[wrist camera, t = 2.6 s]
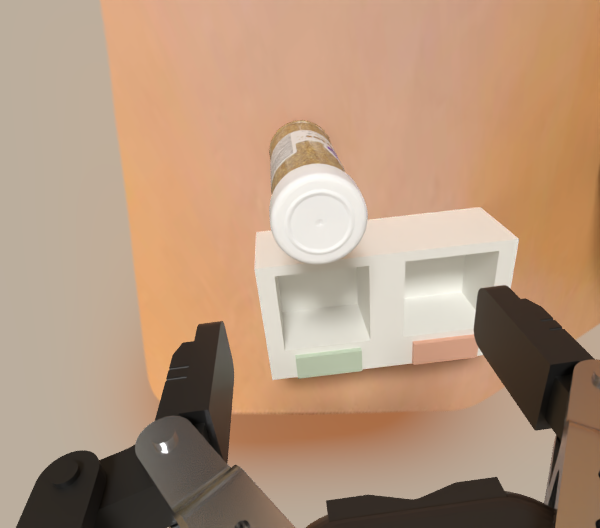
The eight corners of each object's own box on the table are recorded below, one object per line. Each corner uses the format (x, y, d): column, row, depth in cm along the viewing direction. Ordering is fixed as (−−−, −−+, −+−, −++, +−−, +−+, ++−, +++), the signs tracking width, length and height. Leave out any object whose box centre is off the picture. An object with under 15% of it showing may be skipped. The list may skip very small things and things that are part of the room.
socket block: (480, 207, 34) (522, 241, 29) (467, 313, 39) (501, 360, 34) (256, 232, 34) (254, 272, 28) (272, 336, 39) (273, 387, 33)
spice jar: (343, 145, 31) (390, 214, 20) (304, 193, 33) (326, 284, 21) (294, 104, 30) (313, 153, 18) (255, 156, 31) (249, 233, 19)
